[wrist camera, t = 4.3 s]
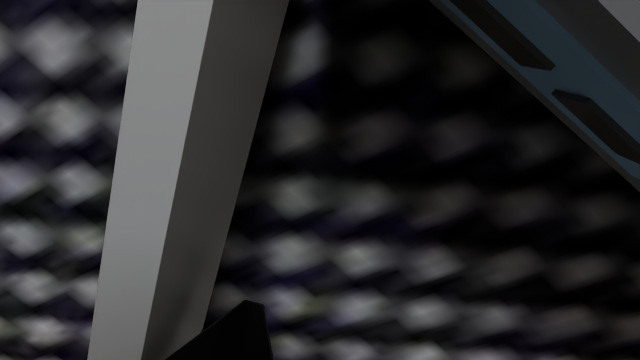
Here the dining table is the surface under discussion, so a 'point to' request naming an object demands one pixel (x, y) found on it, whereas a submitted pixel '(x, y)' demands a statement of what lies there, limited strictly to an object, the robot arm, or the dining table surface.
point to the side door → (179, 168)
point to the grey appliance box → (569, 64)
